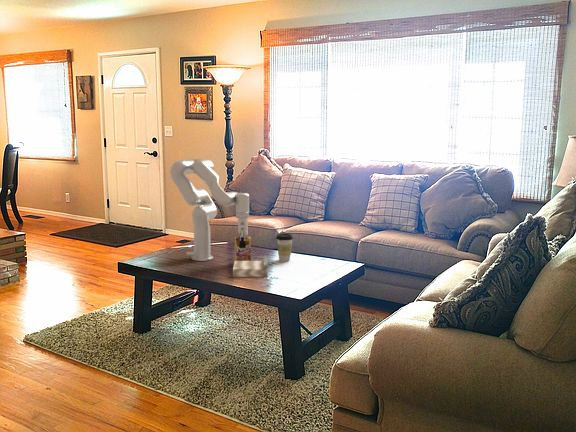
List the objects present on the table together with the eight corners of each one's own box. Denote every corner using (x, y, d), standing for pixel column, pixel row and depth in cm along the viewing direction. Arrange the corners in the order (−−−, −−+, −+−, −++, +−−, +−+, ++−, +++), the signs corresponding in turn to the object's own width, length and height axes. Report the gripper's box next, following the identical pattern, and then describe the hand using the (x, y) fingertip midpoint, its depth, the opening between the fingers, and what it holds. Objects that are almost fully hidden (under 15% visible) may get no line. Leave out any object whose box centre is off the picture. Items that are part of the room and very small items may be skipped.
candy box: (235, 264, 323) (235, 238, 321) (234, 262, 327) (234, 236, 325) (251, 263, 325) (250, 237, 323) (249, 262, 329) (249, 236, 327)
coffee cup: (273, 261, 331) (273, 236, 329) (279, 257, 340) (280, 233, 338) (289, 263, 328) (289, 237, 325) (295, 259, 337) (295, 234, 334)
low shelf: (232, 276, 298) (232, 264, 297) (234, 267, 316) (234, 256, 315) (267, 276, 299) (267, 264, 298) (267, 267, 317) (267, 256, 316)
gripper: (248, 217, 313) (248, 250, 316) (249, 212, 330) (249, 243, 333) (235, 217, 313) (235, 250, 316) (236, 212, 330) (236, 243, 333)
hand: (242, 246), depth 324 cm, fingers closed on candy box, 4 cm apart
